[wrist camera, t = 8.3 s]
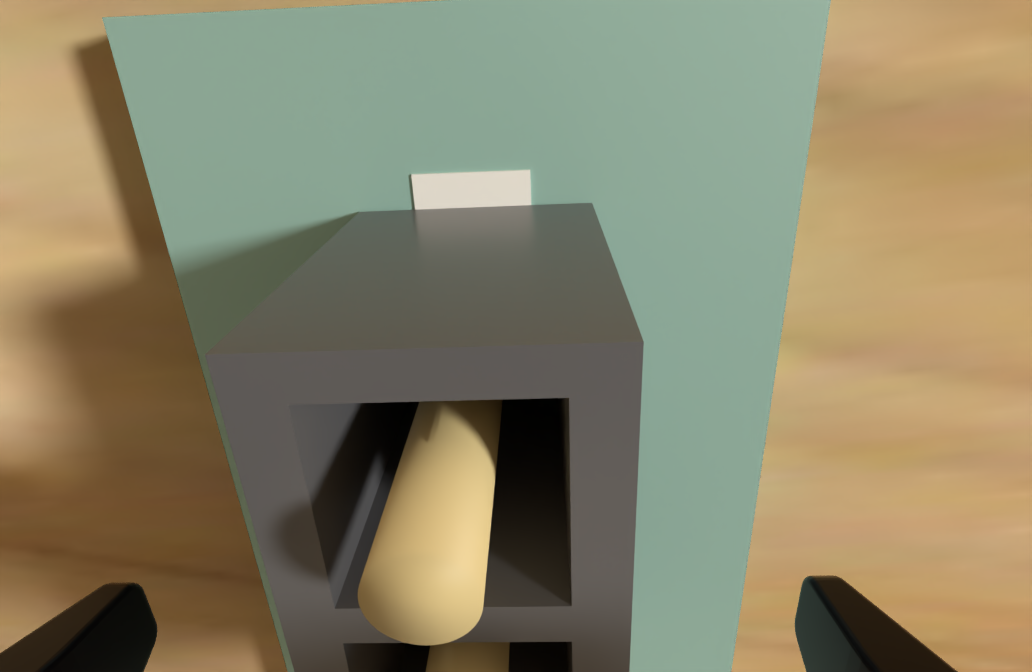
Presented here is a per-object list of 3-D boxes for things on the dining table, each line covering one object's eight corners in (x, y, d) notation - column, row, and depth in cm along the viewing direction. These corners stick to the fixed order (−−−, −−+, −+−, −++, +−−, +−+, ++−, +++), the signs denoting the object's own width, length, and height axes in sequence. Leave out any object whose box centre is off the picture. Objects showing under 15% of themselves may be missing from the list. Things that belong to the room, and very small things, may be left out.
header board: (710, 672, 16) (837, 1121, 9) (317, 673, 16) (166, 1104, 9) (799, -11, 9) (1411, -153, 3) (150, 21, 10) (-624, -39, 3)
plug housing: (590, 631, 13) (617, 931, 9) (423, 632, 14) (366, 927, 9) (591, 202, 10) (643, 342, 5) (359, 211, 10) (205, 354, 5)
